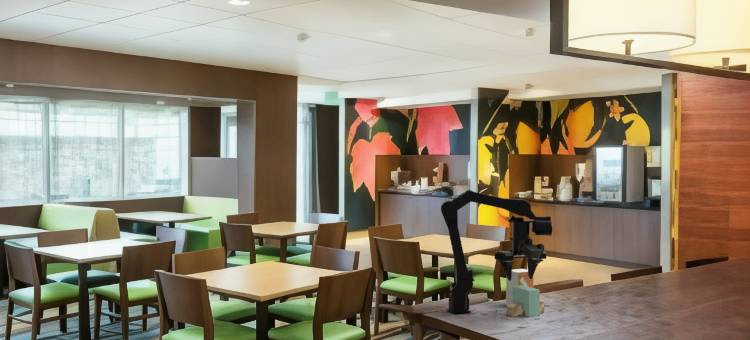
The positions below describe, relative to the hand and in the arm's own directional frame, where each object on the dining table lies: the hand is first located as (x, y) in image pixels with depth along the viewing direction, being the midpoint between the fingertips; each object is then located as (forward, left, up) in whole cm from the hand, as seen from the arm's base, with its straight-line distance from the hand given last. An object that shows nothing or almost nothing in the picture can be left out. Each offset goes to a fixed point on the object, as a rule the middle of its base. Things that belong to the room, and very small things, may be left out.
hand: (520, 279), depth 227 cm
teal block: (+2, -1, -12) cm, 12 cm away
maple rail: (+2, -1, -12) cm, 12 cm away
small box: (+9, +11, -12) cm, 19 cm away
